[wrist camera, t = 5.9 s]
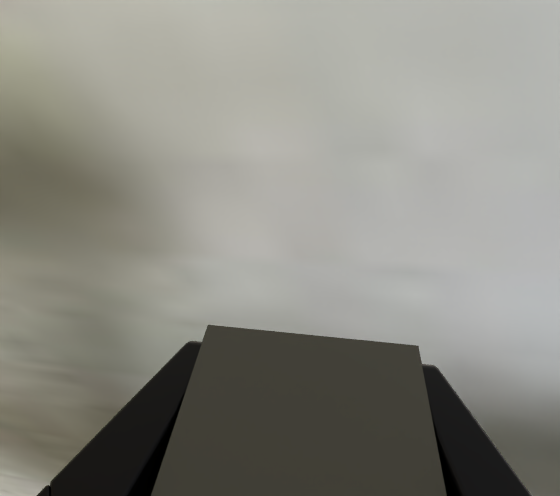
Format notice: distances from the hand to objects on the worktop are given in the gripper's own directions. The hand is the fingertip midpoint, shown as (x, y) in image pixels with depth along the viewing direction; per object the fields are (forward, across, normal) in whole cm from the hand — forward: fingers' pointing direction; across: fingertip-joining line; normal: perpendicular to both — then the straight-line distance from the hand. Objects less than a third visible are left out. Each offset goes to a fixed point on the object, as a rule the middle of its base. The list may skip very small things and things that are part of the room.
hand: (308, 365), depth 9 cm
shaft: (0, 0, +9) cm, 9 cm away
